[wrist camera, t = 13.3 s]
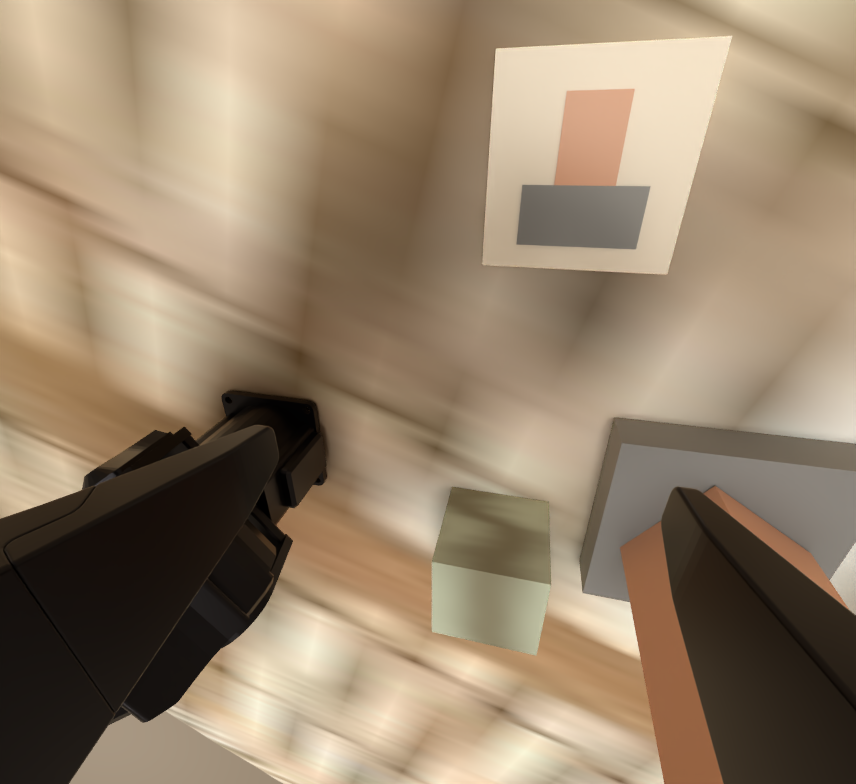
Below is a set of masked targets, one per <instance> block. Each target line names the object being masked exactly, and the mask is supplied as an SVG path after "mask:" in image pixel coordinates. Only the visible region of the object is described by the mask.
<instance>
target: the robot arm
mask: <svg viewBox="0 0 856 784" xmlns="http://www.w3.org/2000/svg"><path fill="white" fill-rule="evenodd" d="M229 397H230V398H231V399H230V398H229ZM222 402H223V406H224V409H225V413H226V417H225V418H224V419H223V420H221V421H220V422H219V423H218V424H216V425H215V426H214V427H212V428H211V429H210V430H209V431H207V432H206V433H205V434H204V435H202V436H201V437H200V438H199V439H197V440H196V441H195V440H194V439H193V438H192V437H191V433H190V432H189V431H188V430H187V429H186V427H185V426H184V427H183V428H182V429H180V430H179V431H178V432H176V433H175V434H172V433H171V432H169V433H164V432H160V431H157V430H155V431H153V432H152V433H150V434H149V435H147V436H146V437H144V438H143V439H141V440H140V441H138V442H137V443H135V444H134V445H132V446H131V447H129V448H128V449H126V450H125V451H123V452H121V453H120V454H118V455H117V456H115V457H113V458H112V459H110V460H109V461H107V462H105V463H104V464H102V465H101V466H99V467H97V468H96V469H94V470H93V471H92V472H90V473H89V474H87V475H86V476H85V477H84V482H83V488H82V490H81V491H78V492H76V493H73V494H70V495H67V496H65V497H62V498H59V499H56V500H54V501H51V502H48V503H45V504H43V505H40V506H37V507H34V508H31V509H28V510H25V511H22V512H19V513H16V514H13V515H10V516H7V517H4V518H1V519H0V784H69V783H70V781H71V779H72V778H73V777H74V775H75V774H76V772H77V771H78V769H79V768H80V766H81V765H82V763H83V762H84V760H85V759H86V757H87V756H88V754H89V753H90V752H91V750H92V749H93V747H94V746H95V744H96V743H97V741H98V740H99V738H100V737H101V735H102V734H103V732H104V731H105V729H106V728H107V726H108V725H110V724H112V723H114V722H116V721H118V720H120V719H122V718H124V717H126V716H129V715H130V714H132V715H133V716H134V717H136V718H137V719H138V720H140V721H141V722H148V721H150V720H151V719H153V718H155V717H156V716H158V715H159V714H161V713H163V712H164V711H166V710H167V709H169V708H170V707H172V706H173V705H175V704H176V703H177V702H178V701H179V700H180V699H181V697H182V696H183V695H184V693H185V692H186V691H187V689H188V688H189V687H190V686H191V684H192V683H193V682H194V680H195V679H196V678H197V676H198V675H199V674H200V672H201V671H202V670H203V669H204V667H205V666H206V665H207V664H208V662H209V661H210V660H211V659H212V658H213V656H214V655H215V654H216V653H217V652H218V651H219V650H220V649H221V648H223V647H225V646H227V645H228V644H230V643H231V642H233V641H234V640H235V639H236V638H238V637H239V636H240V635H241V634H242V633H243V632H244V631H245V630H246V629H247V628H248V627H249V626H250V625H251V624H252V623H253V622H254V620H255V619H256V618H257V617H258V616H259V614H260V613H261V612H262V610H263V609H264V607H265V606H266V604H267V602H268V601H269V599H270V597H271V595H272V592H273V590H274V587H275V585H276V582H277V580H278V577H279V575H280V572H281V570H282V567H283V565H284V562H285V560H286V557H287V555H288V552H289V550H290V547H291V545H292V542H293V540H292V539H291V538H290V537H289V536H288V535H287V534H284V533H283V532H282V531H281V530H280V529H279V528H278V527H277V526H276V525H277V523H278V522H279V521H280V519H281V518H282V517H283V515H284V514H285V513H286V511H287V510H288V508H289V507H290V508H295V507H296V506H298V505H299V503H300V502H301V500H302V499H303V498H304V496H305V495H306V493H307V492H308V491H309V489H310V488H311V486H312V485H323V483H324V482H325V480H326V470H325V467H326V459H325V452H324V444H323V437H322V435H321V433H320V428H319V421H318V414H317V408H316V405H315V404H314V403H313V402H311V401H308V400H300V399H293V398H285V397H277V396H269V395H261V394H254V393H246V392H238V391H227V392H226V393H224V394H223V395H222ZM306 407H307V408H309V410H310V411H309V410H307V409H306ZM318 477H319V478H320V479H319V478H318ZM661 529H662V536H663V542H664V549H665V555H666V562H667V569H668V575H669V582H670V588H671V594H672V599H673V603H674V607H675V611H676V615H677V618H678V622H679V625H680V629H681V633H682V636H683V640H684V643H685V647H686V651H687V654H688V658H689V661H690V665H691V669H692V672H693V676H694V679H695V683H696V687H697V690H698V694H699V697H700V701H701V705H702V708H703V712H704V716H705V719H706V723H707V726H708V730H709V734H710V737H711V741H712V744H713V748H714V752H715V755H716V759H717V762H718V766H719V770H720V773H721V777H722V780H723V784H856V615H855V614H854V613H852V612H851V611H850V610H849V609H847V608H846V607H845V606H844V605H842V604H841V603H840V602H839V601H837V600H836V599H835V598H834V597H832V596H831V595H830V594H828V593H827V592H826V591H825V590H823V589H822V588H821V587H820V586H818V585H817V584H816V583H815V582H813V581H812V580H811V579H810V578H808V577H807V576H806V575H805V574H803V573H802V572H801V571H800V570H798V569H797V568H796V567H795V566H793V565H792V564H791V563H790V562H788V561H787V560H786V559H785V558H783V557H782V556H781V555H780V554H778V553H777V552H776V551H775V550H773V549H772V548H771V547H770V546H768V545H767V544H766V543H765V542H763V541H762V540H761V539H760V538H758V537H757V536H756V535H755V534H753V533H752V532H751V531H750V530H748V529H747V528H746V527H745V526H743V525H742V524H741V523H740V522H738V521H737V520H736V519H735V518H733V517H732V516H731V515H730V514H728V513H727V512H726V511H725V510H723V509H722V508H721V507H719V506H718V505H717V504H716V503H714V502H713V501H712V500H711V499H709V498H708V497H707V496H706V495H704V494H703V493H702V492H701V491H699V490H697V489H694V488H687V487H680V486H677V487H674V488H673V489H672V491H671V493H670V496H669V498H668V501H667V504H666V507H665V509H664V512H663V515H662V519H661Z"/></svg>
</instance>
